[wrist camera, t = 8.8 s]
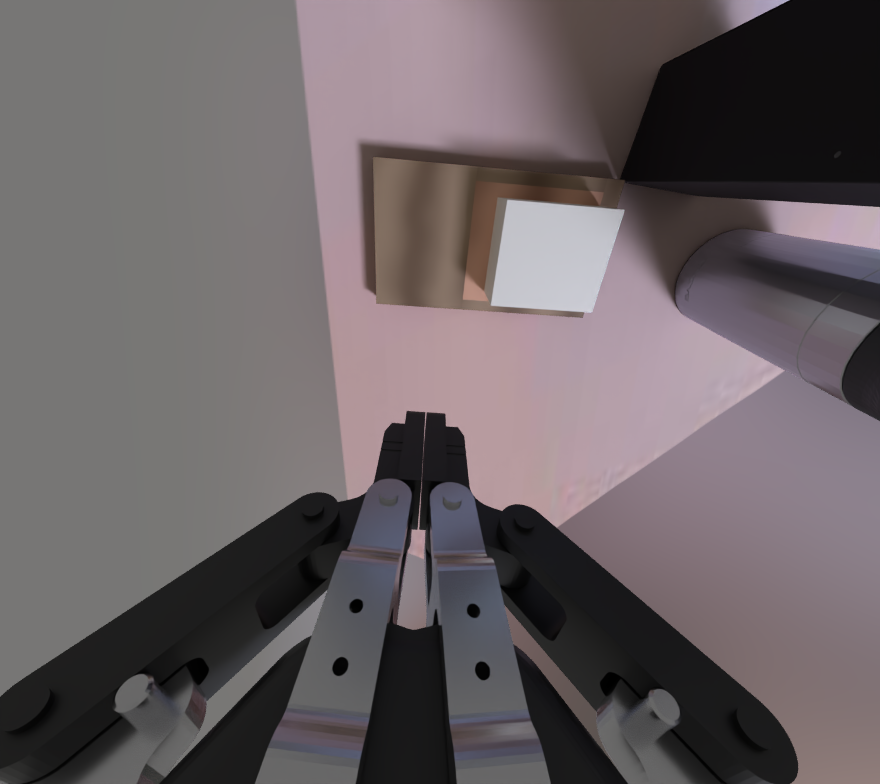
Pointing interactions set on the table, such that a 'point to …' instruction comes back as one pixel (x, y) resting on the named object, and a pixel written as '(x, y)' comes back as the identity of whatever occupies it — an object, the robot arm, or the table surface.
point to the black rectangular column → (771, 110)
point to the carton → (549, 254)
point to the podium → (456, 227)
